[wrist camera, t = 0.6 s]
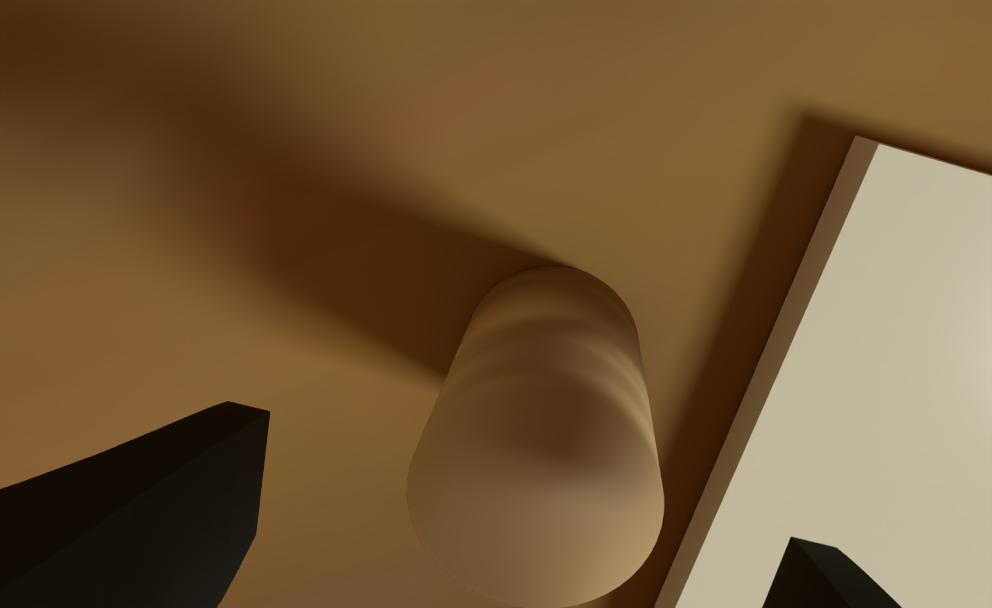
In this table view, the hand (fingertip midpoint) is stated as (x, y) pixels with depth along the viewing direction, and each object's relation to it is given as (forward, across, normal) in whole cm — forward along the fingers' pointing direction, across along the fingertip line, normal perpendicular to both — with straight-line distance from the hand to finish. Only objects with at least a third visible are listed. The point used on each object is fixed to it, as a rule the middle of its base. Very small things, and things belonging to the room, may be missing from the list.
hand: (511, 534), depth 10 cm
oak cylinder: (+10, 0, +1) cm, 10 cm away
